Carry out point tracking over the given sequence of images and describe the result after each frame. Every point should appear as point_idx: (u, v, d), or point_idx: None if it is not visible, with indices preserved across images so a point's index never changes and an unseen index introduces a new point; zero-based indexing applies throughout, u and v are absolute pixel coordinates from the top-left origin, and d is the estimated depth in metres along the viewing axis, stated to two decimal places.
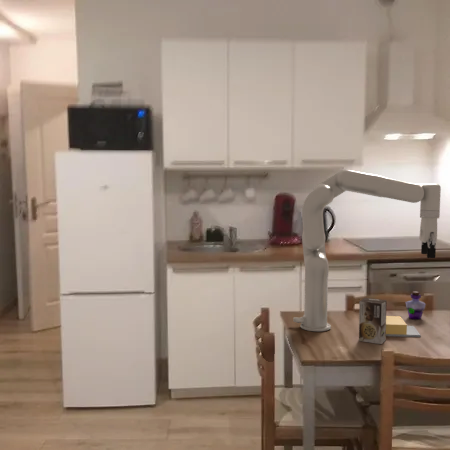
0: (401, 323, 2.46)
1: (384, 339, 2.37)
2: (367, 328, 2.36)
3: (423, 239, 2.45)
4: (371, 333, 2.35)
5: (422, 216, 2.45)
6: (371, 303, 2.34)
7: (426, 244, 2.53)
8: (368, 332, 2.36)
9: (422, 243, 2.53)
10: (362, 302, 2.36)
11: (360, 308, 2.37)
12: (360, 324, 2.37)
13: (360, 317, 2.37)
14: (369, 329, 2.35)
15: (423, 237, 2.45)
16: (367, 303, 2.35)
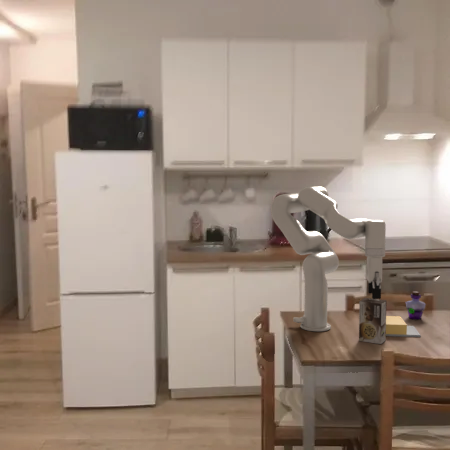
0: (401, 323, 2.46)
1: (384, 339, 2.37)
2: (367, 328, 2.36)
3: (368, 279, 2.33)
4: (371, 333, 2.35)
5: (367, 254, 2.33)
6: (371, 303, 2.34)
7: None
8: (368, 332, 2.36)
9: (369, 282, 2.41)
10: (362, 302, 2.36)
11: (360, 308, 2.37)
12: (360, 324, 2.37)
13: (360, 317, 2.37)
14: (369, 329, 2.35)
15: (368, 276, 2.33)
16: (367, 303, 2.35)
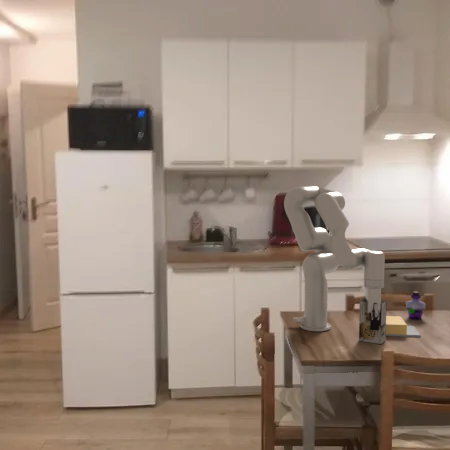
0: (401, 323, 2.46)
1: (384, 339, 2.37)
2: (367, 328, 2.36)
3: (367, 309, 2.35)
4: (371, 333, 2.35)
5: (365, 285, 2.35)
6: None
7: None
8: (368, 332, 2.36)
9: None
10: (362, 302, 2.36)
11: (360, 308, 2.37)
12: (360, 324, 2.37)
13: (360, 317, 2.37)
14: (369, 329, 2.35)
15: (367, 307, 2.35)
16: None
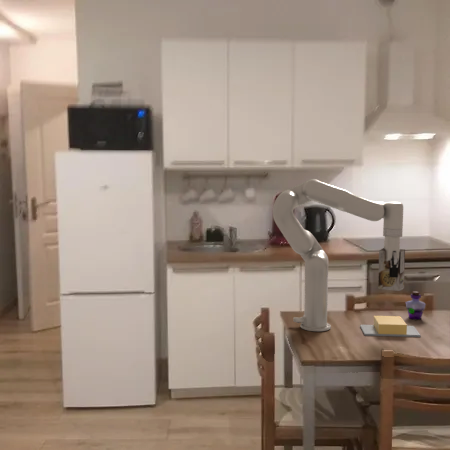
0: (401, 323, 2.46)
1: (402, 287, 2.47)
2: (386, 276, 2.46)
3: (386, 258, 2.45)
4: (390, 280, 2.45)
5: (385, 235, 2.45)
6: None
7: None
8: (388, 280, 2.46)
9: None
10: (382, 251, 2.46)
11: (380, 257, 2.47)
12: (379, 272, 2.47)
13: (380, 265, 2.47)
14: (388, 277, 2.45)
15: (386, 256, 2.45)
16: None
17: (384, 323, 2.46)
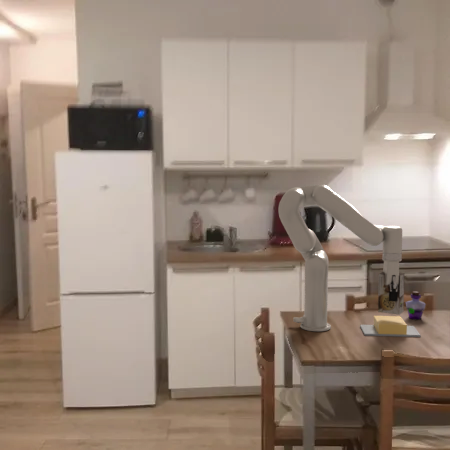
0: (401, 323, 2.46)
1: (402, 310, 2.48)
2: (386, 300, 2.47)
3: (385, 282, 2.46)
4: (390, 304, 2.46)
5: (384, 259, 2.46)
6: None
7: None
8: (387, 304, 2.47)
9: None
10: (381, 275, 2.47)
11: (379, 281, 2.48)
12: (379, 296, 2.48)
13: (379, 289, 2.48)
14: (387, 300, 2.47)
15: (385, 280, 2.46)
16: None
17: (384, 323, 2.46)
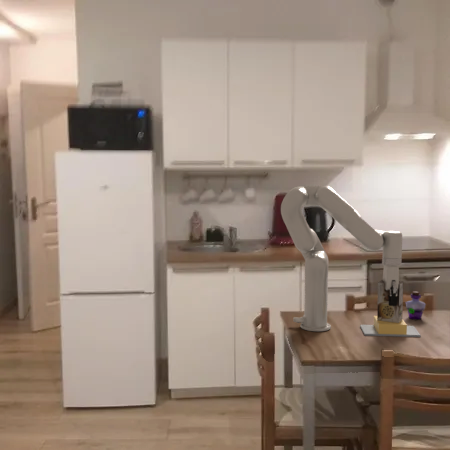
0: (401, 323, 2.46)
1: (401, 318, 2.49)
2: (385, 308, 2.47)
3: (385, 286, 2.46)
4: (389, 312, 2.47)
5: (384, 264, 2.46)
6: None
7: None
8: (387, 312, 2.47)
9: None
10: (380, 283, 2.47)
11: (378, 289, 2.48)
12: (378, 304, 2.49)
13: (378, 298, 2.48)
14: (387, 309, 2.47)
15: (385, 284, 2.46)
16: None
17: (384, 323, 2.46)
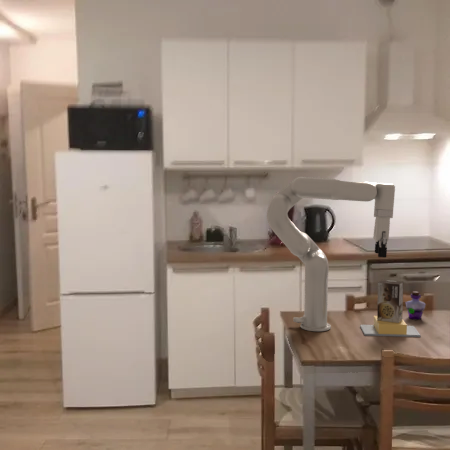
0: (401, 323, 2.46)
1: (401, 318, 2.49)
2: (385, 308, 2.47)
3: (375, 238, 2.46)
4: (389, 312, 2.47)
5: (375, 215, 2.46)
6: (389, 284, 2.46)
7: None
8: (387, 312, 2.47)
9: (376, 242, 2.54)
10: (380, 283, 2.47)
11: (378, 289, 2.48)
12: (378, 304, 2.49)
13: (378, 298, 2.48)
14: (387, 309, 2.47)
15: (375, 236, 2.46)
16: (385, 284, 2.46)
17: (384, 323, 2.46)
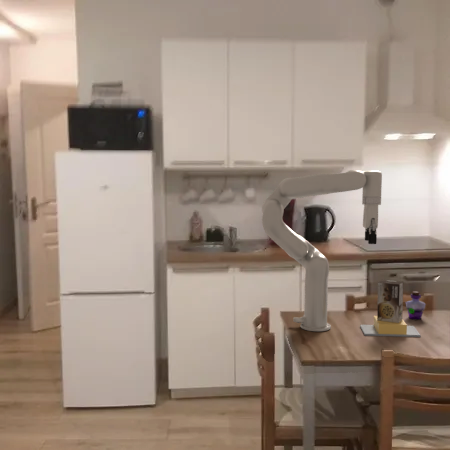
0: (401, 323, 2.46)
1: (401, 318, 2.49)
2: (385, 308, 2.47)
3: (365, 225, 2.49)
4: (389, 312, 2.47)
5: (364, 203, 2.49)
6: (389, 284, 2.46)
7: None
8: (387, 312, 2.47)
9: (365, 230, 2.57)
10: (380, 283, 2.47)
11: (378, 289, 2.48)
12: (378, 304, 2.49)
13: (378, 298, 2.48)
14: (387, 309, 2.47)
15: (365, 223, 2.49)
16: (385, 284, 2.46)
17: (384, 323, 2.46)
